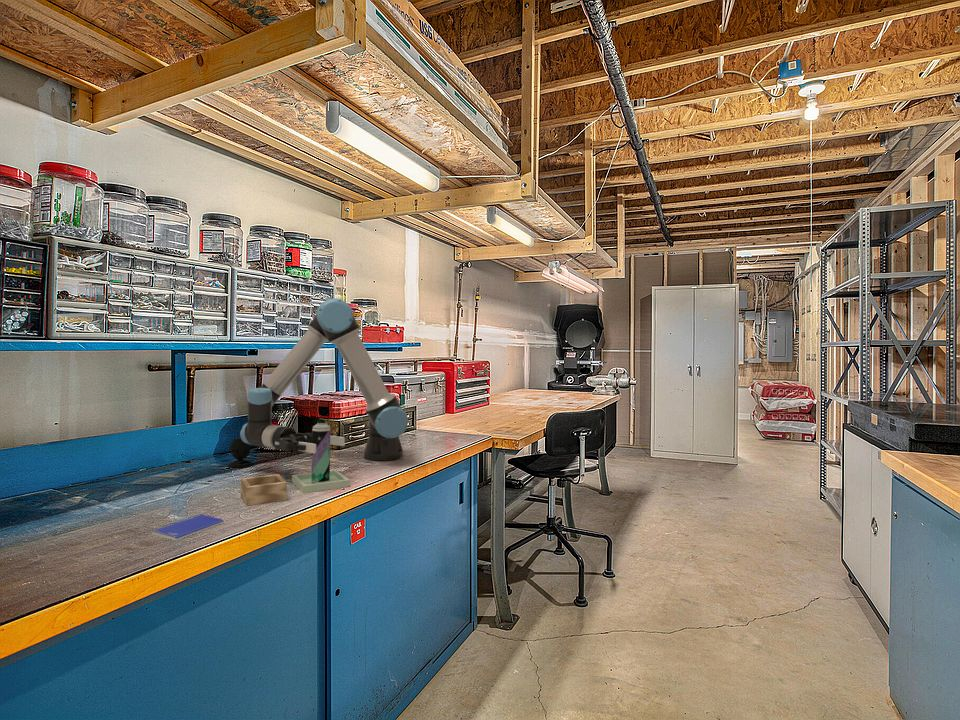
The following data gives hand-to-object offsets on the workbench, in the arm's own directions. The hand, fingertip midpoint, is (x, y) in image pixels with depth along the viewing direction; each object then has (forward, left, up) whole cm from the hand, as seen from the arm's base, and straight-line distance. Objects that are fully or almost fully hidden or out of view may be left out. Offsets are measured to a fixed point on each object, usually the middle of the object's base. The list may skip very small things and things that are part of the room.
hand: (330, 445), depth 157 cm
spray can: (+2, -3, -12) cm, 13 cm away
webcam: (+20, -39, -13) cm, 46 cm away
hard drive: (+39, +19, -14) cm, 46 cm away
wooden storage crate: (+20, +3, -13) cm, 24 cm away
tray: (+2, -3, -13) cm, 13 cm away
